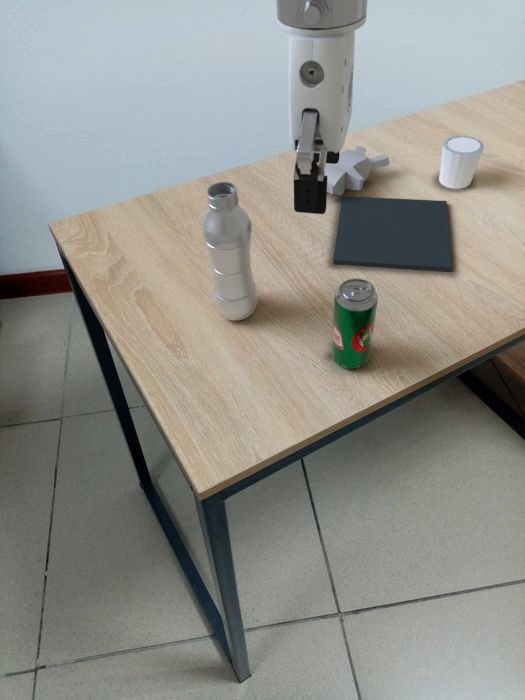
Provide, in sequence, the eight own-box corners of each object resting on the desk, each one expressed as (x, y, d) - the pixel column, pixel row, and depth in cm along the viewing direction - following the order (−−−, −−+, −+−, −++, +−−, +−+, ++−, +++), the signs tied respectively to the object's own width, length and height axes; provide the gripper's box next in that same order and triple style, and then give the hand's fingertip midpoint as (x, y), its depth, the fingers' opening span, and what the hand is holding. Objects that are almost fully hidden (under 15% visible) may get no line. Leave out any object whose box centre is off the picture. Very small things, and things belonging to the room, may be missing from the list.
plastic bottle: (211, 325, 76) (188, 205, 61) (220, 293, 81) (201, 174, 66) (255, 327, 76) (243, 207, 61) (262, 295, 80) (252, 175, 65)
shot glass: (428, 182, 98) (435, 145, 92) (448, 166, 101) (456, 130, 95) (461, 195, 94) (470, 158, 89) (481, 178, 97) (491, 142, 92)
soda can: (330, 343, 73) (334, 276, 64) (367, 342, 72) (376, 275, 64) (332, 371, 70) (336, 305, 61) (371, 371, 69) (381, 304, 60)
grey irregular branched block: (303, 165, 94) (355, 133, 101) (303, 191, 98) (353, 158, 104) (346, 183, 89) (397, 148, 96) (344, 209, 93) (393, 174, 100)
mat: (445, 204, 93) (446, 200, 92) (451, 271, 81) (452, 267, 80) (341, 199, 95) (342, 195, 95) (332, 263, 84) (333, 259, 83)
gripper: (355, 41, 38) (342, 237, 51) (376, -29, 49) (361, 147, 62) (253, 39, 39) (265, 230, 52) (296, -28, 50) (297, 143, 63)
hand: (317, 185), depth 57 cm, fingers open, 9 cm apart
